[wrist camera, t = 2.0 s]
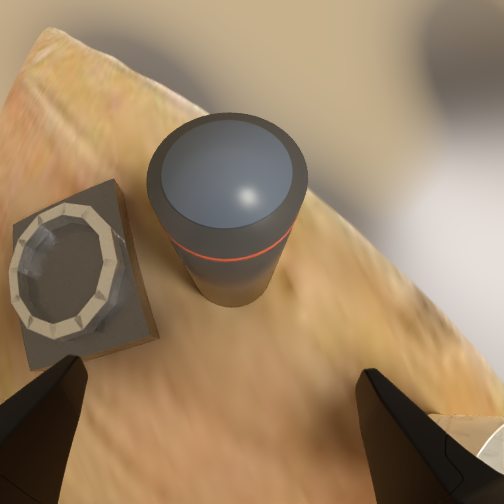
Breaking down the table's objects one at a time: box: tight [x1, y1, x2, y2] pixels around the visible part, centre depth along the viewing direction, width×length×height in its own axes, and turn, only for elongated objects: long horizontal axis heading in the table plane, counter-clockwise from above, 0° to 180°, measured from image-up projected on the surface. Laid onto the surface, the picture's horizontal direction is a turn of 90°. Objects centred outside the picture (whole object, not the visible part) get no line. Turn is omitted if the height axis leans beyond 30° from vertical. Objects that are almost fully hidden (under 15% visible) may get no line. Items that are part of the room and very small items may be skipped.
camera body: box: [8, 178, 160, 371], centre depth 20 cm, size 13×11×4 cm
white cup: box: [428, 413, 504, 474], centre depth 14 cm, size 8×8×10 cm
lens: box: [147, 113, 308, 308], centre depth 17 cm, size 6×6×13 cm
